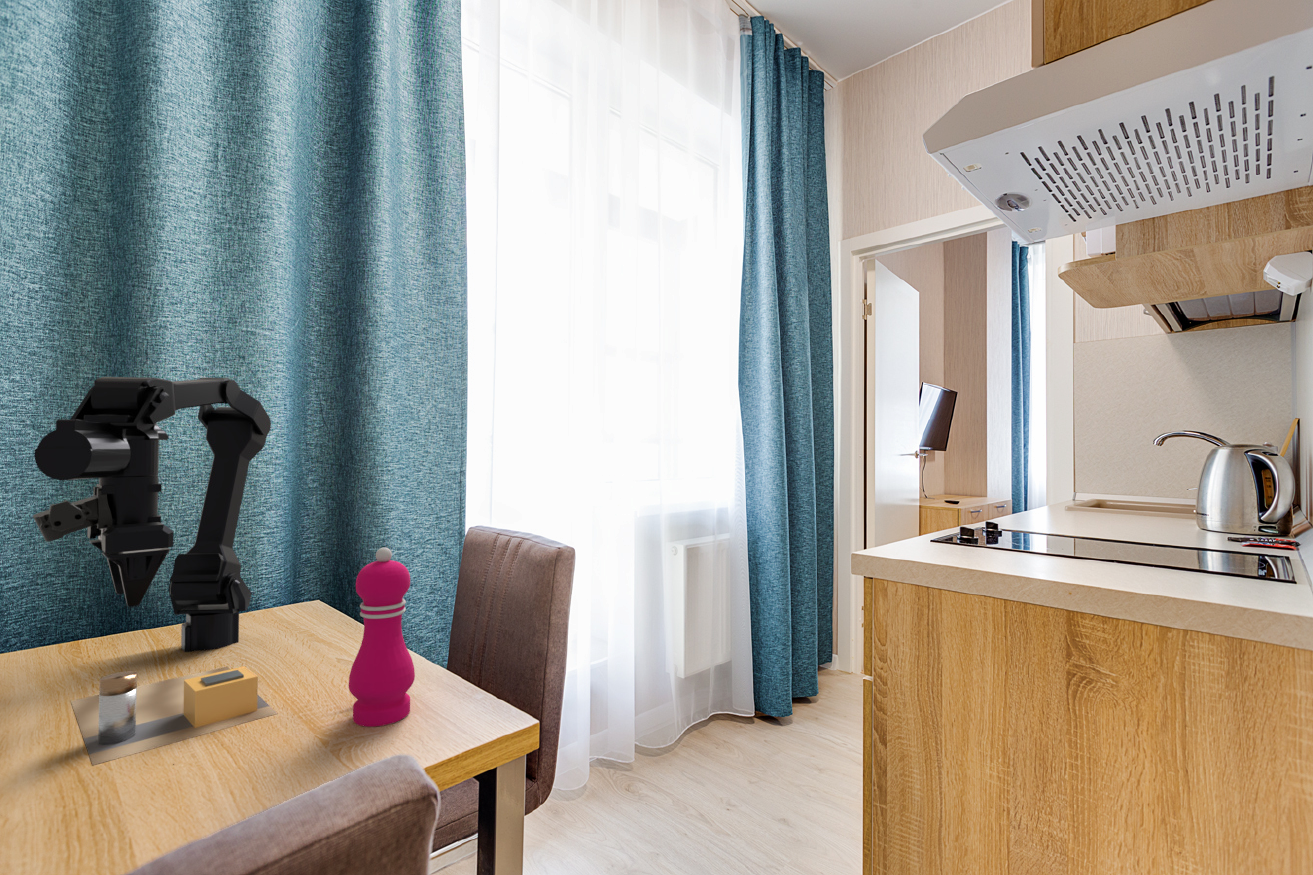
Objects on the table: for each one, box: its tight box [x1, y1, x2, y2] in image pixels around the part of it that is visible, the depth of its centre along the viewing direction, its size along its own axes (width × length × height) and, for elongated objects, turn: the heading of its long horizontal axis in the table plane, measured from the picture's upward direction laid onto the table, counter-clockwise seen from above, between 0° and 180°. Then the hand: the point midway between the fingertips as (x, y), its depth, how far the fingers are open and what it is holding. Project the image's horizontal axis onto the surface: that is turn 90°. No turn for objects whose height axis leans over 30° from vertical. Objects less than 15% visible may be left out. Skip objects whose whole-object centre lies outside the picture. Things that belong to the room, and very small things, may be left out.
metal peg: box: [98, 670, 138, 745], centre depth 66 cm, size 3×3×6 cm
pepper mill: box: [348, 546, 416, 728], centre depth 74 cm, size 7×7×20 cm
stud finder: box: [183, 665, 259, 728], centre depth 72 cm, size 6×5×4 cm
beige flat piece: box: [70, 666, 279, 766], centre depth 73 cm, size 16×22×1 cm
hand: (127, 599), depth 78 cm, fingers open, 9 cm apart
